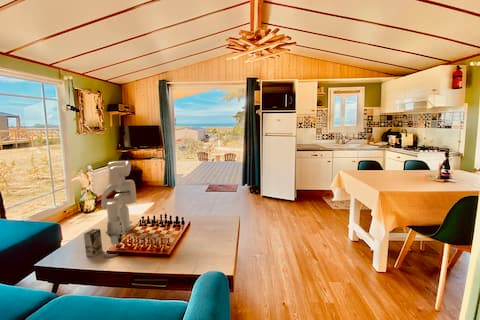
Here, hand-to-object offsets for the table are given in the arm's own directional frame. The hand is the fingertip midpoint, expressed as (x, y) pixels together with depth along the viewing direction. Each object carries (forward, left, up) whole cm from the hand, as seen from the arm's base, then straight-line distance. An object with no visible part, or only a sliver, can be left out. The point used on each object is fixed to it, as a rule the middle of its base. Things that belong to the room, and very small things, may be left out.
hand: (116, 242), depth 199 cm
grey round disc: (+11, +2, -4) cm, 12 cm away
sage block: (0, 0, -1) cm, 1 cm away
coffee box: (+9, -12, -5) cm, 15 cm away
